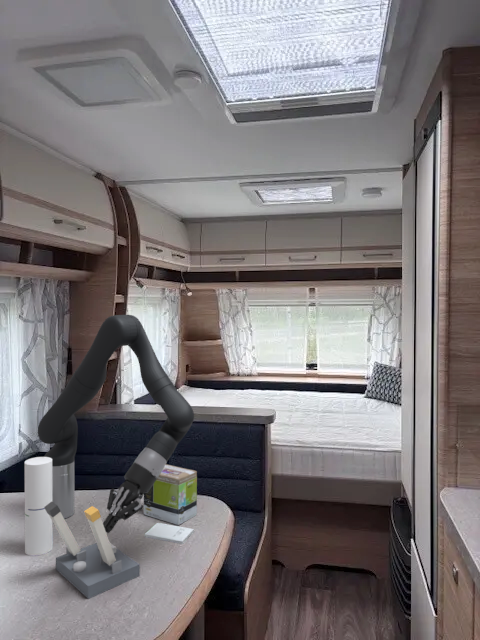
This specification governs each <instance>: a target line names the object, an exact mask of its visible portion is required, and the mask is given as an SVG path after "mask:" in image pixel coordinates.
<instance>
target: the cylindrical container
mask: <svg viewBox="0 0 480 640" xmlns="http://www.w3.org/2000/svg"><path fill="white" fill-rule="evenodd" d="M50 502H52V458H49V457H44V456H36V457H31V458H28V459H26V460H25V461H24V553H25V555H27V556H31V557H33V556H34V557H36V556H42V555H45V554H47V553H49V552H50V551H52V549H53V548H54V547H53V546H54V545H53V544H54V543H53V521H52V520H51V518H50V516H49V514H48V513H47V512H46V510H45V508H44V507H45V506H46V505H48V504H49V503H50Z"/></svg>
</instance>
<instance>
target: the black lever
mask: <svg viewBox="0 0 480 640" xmlns="http://www.w3.org/2000/svg"><path fill="white" fill-rule="evenodd" d="M44 508H45V510H46V512H47V513H48V514H49V516H50V518H51V520H52V524H53V525H54V527H55V529H56V530H57V532H58V534H59V536H60V538H61V540H62V542H63V543H64V545H65V548H66V547H67V549H68V551H69V552H70V553H71V554H72V555H74V556H77V553H79V552H80V551H81V548H80V546H79V544H78V542H77V540H76V538H75V536H74V535H73V533H72V531H71V529H70V527H69V525H68V523H67V522H66V519H64V518H63V516H62V514H61V511H60V509H59V507H58V505H56V504H55V503H54V502H50V503H49V504H48V505H46V506H45V507H44Z"/></svg>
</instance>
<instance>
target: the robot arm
mask: <svg viewBox="0 0 480 640" xmlns="http://www.w3.org/2000/svg"><path fill="white" fill-rule="evenodd" d="M125 346H126V347H127V346H128V347H129V348H130V349H131V350H132V352H133V353H134V354H135V356H136V358H137V360H138V366H139V370H140V377H141V381H142V384H143V385H144V388H145V389H146V390H147V392H148V394H149V395H150V397H151V398H152V401H154V402H155V404H156V405H158V406H160V407H161V409H162V411H164V414H166V417H167V418H166V419H165V421H164V423H163V424H162V425H161V427H160V429H159V430H158V431H156V432H155V433H154V434H153V436H152V437H151V438H150V440H149V441H148V443H147V444H146V446H145V447H144V448H143V450H142V451H141V452H140V453H139V454H138V456H137V457H136V458H135V460H134V462H133V463H132V464H131V466H130V467H129V468H128V470H127V472H126V473H125V475H123V477H124V481H123V483H122V484H120V485H119V488H117V489H115V488H111V489H110V491H109V495H108V499H107V505H106V509H107V510H108V515H107V516H106V518H105V519H104V521H102V523H103V525H104V528H105V531H106V534H110V533H111V532H112V531H113V529H114V528H115V526H116V525H117V523H118V522H119V521H121V520H124V521H126V520H127V519H129V518H131V517H132V516H133V515H136V514H137V513H139V512H140V511H142V510H144V504H142V503H141V502H142V499H143V498H144V492H145V493H148V492H149V490H150V489H151V487H152V486H153V484H154V483H155V481H156V480H157V478H158V477H159V475H160V473H161V472H162V470H163V468H164V466H165V464H167V462H168V461H169V460H170V458H171V457H172V456H173V453H174V451H175V450H176V448H177V447H178V444H179V443H180V442H181V441H182V440H183V438H184V437H185V436H186V434H187V433H188V431H189V430H190V429H191V426H193V425H192V424H193V423H194V419H195V413H194V409H193V408H192V406H191V404H190V403H189V402H188V400H187V399H186V398H185V397H184V396H183V395H182V394H181V393H180V392H179V390H177V388H176V386H175V385H174V383H173V382H172V380H171V378H170V377H169V375H168V374H167V373H166V371H165V369H164V368H163V366H162V364H161V363H160V361H159V359H158V357H157V355H156V352H155V351H154V349H153V346H152V343H151V342H150V340H149V337H148V335H147V333H146V331H145V328H144V326H143V323H142V322H141V321H140V320H139V318H138V317H137V316H135V315H131V314H118V315H117V314H113V315H111V316H108V317H107V318H105V320H104V321H103V322H102V324H101V326H100V327H99V330H98V331H97V334H96V336H95V338H94V340H93V342H92V344H91V345H90V348H89V350H88V351H87V353H86V354H85V356H84V358H83V359H82V360H81V363H80V364H79V365H78V367H77V368H76V370H75V371H74V372H73V374H72V376H71V377H70V379H69V381H68V383H67V384H66V386H65V387H64V389H63V390H62V391H61V393H60V395H59V396H58V398H57V399H56V401H55V402H54V403H52V406H51V407H50V408H49V409H48V411H47V412H46V413H45V414H44V415H43V416H42V417H41V419H40V421H39V423H38V425H37V436H38V438H39V440H40V441H41V442H42V443H44V444H47V445H53V444H54V445H53V446H52V447H51V448H50V449H49V450H48V451H47V452H46V453H45V454H44V456H43V457H49V458H52V502H54V503H55V504H56V505H58V507H59V509H60V511H61V514H62V516H63V518H64V520H66V519H68V518H70V517H72V516H73V515H74V514H75V457H76V453H77V449H78V434H79V433H78V432H79V431H78V429H79V428H78V421H77V417H76V416H75V414H76V413H77V412H79V410H81V409H82V408H83V407H85V406H86V405H87V404H88V403H90V402H91V401H92V400H93V399H94V398H95V397H96V396H97V394H98V393H99V391H100V390H101V389H102V387H103V386H104V384H105V381H106V379H107V372H108V371H107V368H108V367H107V366H108V362H109V360H110V359H111V358H112V356H113V355H114V353H115V351H117V350H118V349H119V348H121V347H125Z"/></svg>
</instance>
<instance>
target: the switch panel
mask: <svg viewBox="0 0 480 640" xmlns="http://www.w3.org/2000/svg"><path fill="white" fill-rule="evenodd" d="M110 545H111V547H112V550H113V553H114V556H115V558H116V561H115V562H114V563H112V567H111V566H109V565H108V564H107V563H105V562H104V561H103V559H102V556H101V554H100V551H99V548H98V546H97V543H96V542H95V543H91V544H90V545H87V546H84V547H82V548H80V549H81V551H80V552H79V553H77V556H74V555H72V554H71V553H70V552H69V551H68V549H67V547H66V546H65V549H66V550H65V551H66V552H65V554H62V555H59V556H57V557H55V570H56V571H57V572H58V573H59V574H61V575H62V577H64V578H65V579H66V580H67V581H68V583H71V585H72V586H74V587H75V588H76V589H77V590H78V591H79V592H80V593H81V594H82V595H83V596H85V597H86V598H87V600H89V599H91V598H93V597H95V596H98V595H101V594H102V593H104V592H106V591H109V590H111V589H113V588H116V587H118V586H120V585H122V584H124V583H127V582H130V581H131V580H133V579H136V578H138V577H140V571H141V567H140V563H138V562H137V561H136V560H134V559H133V558H131V557H130V556H128V555H127V554H125V553H124V551H121V550H120V549H119V548H118V547H117V546H115V545H114V544H113V543H111V542H110Z"/></svg>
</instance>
